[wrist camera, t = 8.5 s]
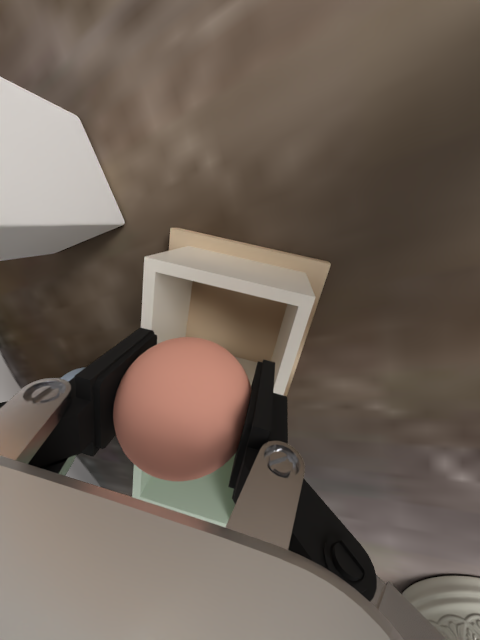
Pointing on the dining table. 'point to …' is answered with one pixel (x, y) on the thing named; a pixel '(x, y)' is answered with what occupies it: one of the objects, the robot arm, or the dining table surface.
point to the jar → (449, 605)
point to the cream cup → (233, 274)
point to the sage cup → (190, 494)
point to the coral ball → (181, 409)
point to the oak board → (244, 300)
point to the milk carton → (48, 179)
